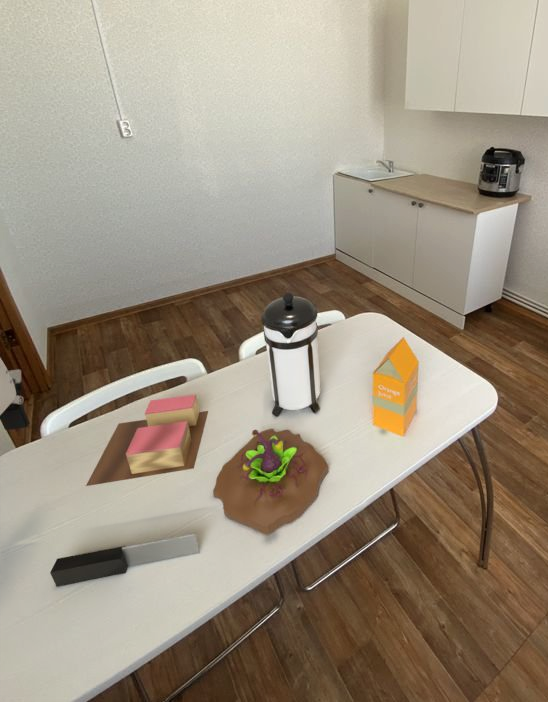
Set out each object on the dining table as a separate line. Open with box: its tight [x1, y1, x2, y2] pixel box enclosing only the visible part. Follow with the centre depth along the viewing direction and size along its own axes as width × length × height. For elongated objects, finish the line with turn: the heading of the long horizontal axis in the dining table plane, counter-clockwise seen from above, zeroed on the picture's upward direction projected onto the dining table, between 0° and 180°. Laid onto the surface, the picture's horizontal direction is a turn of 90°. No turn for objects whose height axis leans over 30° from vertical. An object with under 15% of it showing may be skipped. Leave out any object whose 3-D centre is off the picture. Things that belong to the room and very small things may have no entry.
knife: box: [49, 532, 200, 588], centre depth 61 cm, size 21×2×4 cm, turn 101°
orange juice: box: [372, 336, 420, 437], centre depth 87 cm, size 8×9×20 cm
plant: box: [212, 428, 329, 536], centre depth 74 cm, size 20×20×11 cm
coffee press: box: [260, 292, 321, 418], centre depth 93 cm, size 17×16×30 cm
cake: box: [85, 410, 209, 487], centre depth 83 cm, size 20×16×6 cm
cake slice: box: [144, 393, 201, 427], centre depth 88 cm, size 10×4×6 cm, turn 100°
